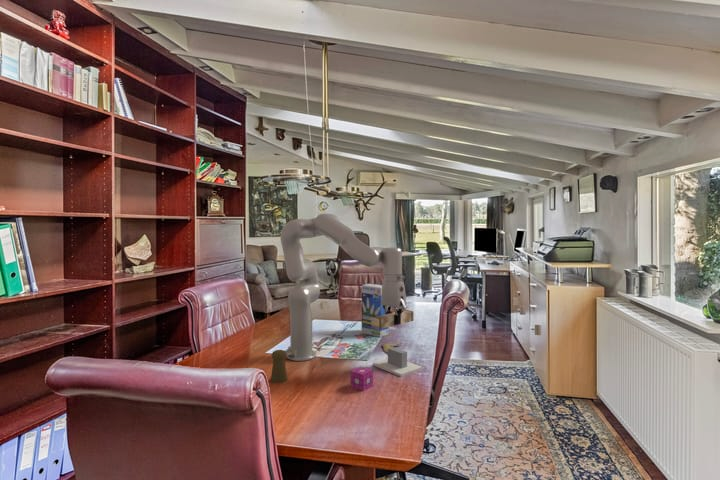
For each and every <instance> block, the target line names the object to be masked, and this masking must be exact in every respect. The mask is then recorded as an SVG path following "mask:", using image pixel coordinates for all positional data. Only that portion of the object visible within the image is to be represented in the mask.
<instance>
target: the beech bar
mask: <svg viewBox="0 0 720 480" xmlns="http://www.w3.org/2000/svg"><path fill="white" fill-rule="evenodd" d="M414 314H415V311H413V310H410V309H409V310H408V309H405V310H404V311H403V312H402V314H401V324H398V325H397V326H399V325H402V324H407V323H411V322H414V320H415V318H414V316H415V315H414ZM394 315H395V311H394V312H392V313H390V314H385V315H380V316H376V317H371V328H375V329H378V330H379V329H383V328H387V327H388V328H390V327H394V326H396V325H394Z"/></svg>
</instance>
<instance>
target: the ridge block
mask: <svg viewBox="0 0 720 480" xmlns="http://www.w3.org/2000/svg"><path fill="white" fill-rule="evenodd" d="M372 366H374V367H377V368H379V369H381V370H384V371H386V372H389V373H391V374H392V375H395V376H398V377H404V376H407V375H410V374H413V373H417V372H420V371H421V370H423V366H421V365H418V364H416V363H413V362H410V361H408V351H406V350H403V349H400V348H397V347H395V346H393V347H391V348H388V354H387V358H385V359H382V360H381V359H380V360H378V361H374V362H373V363H372Z"/></svg>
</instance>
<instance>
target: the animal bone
mask: <svg viewBox="0 0 720 480" xmlns="http://www.w3.org/2000/svg"><path fill="white" fill-rule="evenodd" d="M401 344H403V342H397V343H396V342H394V343H386V342H385V343H382V344H381V346H382V349H383V351H384V353H386V354H387V355H388V348H391V347H396V346H398V345H401Z"/></svg>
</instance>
